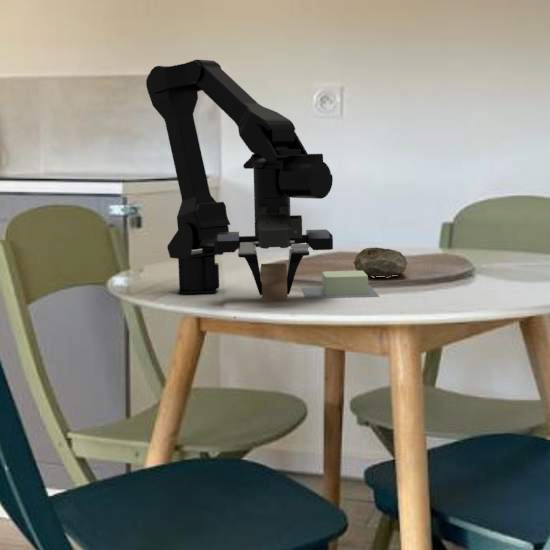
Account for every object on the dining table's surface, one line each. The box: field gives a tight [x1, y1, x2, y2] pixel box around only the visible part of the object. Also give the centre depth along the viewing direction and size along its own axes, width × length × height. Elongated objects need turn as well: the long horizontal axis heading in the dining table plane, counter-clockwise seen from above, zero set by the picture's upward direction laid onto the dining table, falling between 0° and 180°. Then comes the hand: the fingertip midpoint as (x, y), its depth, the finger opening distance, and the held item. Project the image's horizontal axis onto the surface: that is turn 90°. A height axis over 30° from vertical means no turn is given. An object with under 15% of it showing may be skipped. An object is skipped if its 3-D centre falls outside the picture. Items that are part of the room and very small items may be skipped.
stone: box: [353, 247, 408, 277], centre depth 174 cm, size 13×8×8 cm
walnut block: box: [260, 262, 288, 303], centre depth 150 cm, size 4×4×6 cm
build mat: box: [300, 284, 380, 300], centre depth 157 cm, size 12×12×1 cm
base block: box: [321, 270, 369, 295], centre depth 157 cm, size 7×7×3 cm
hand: (274, 294), depth 150 cm, fingers closed on walnut block, 4 cm apart
